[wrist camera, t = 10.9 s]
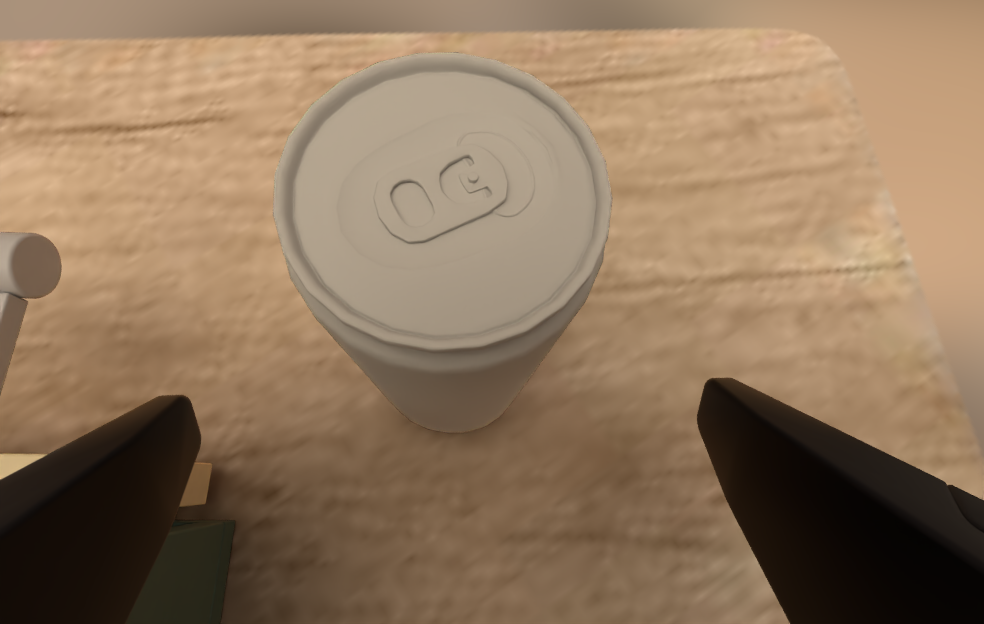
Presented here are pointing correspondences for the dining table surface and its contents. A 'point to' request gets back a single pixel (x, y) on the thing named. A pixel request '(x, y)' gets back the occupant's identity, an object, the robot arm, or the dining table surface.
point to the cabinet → (187, 575)
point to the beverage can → (443, 228)
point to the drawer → (3, 283)
